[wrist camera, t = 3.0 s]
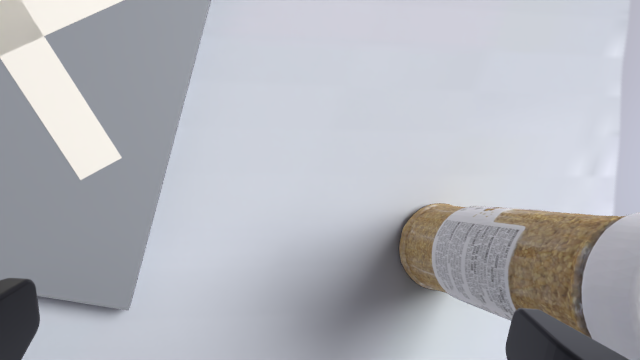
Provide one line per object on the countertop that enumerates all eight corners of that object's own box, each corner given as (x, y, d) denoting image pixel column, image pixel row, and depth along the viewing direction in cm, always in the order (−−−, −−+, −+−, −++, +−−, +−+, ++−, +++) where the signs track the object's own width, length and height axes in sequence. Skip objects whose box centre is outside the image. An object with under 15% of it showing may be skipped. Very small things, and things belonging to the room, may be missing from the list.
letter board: (130, 305, 20) (128, 310, 19) (-285, 236, 16) (-314, 239, 16) (242, -118, 22) (245, -133, 21) (-109, -267, 18) (-126, -293, 17)
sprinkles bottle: (481, 217, 25) (791, 245, 13) (458, 299, 25) (757, 416, 12) (409, 190, 24) (670, 190, 11) (383, 276, 24) (626, 377, 11)
